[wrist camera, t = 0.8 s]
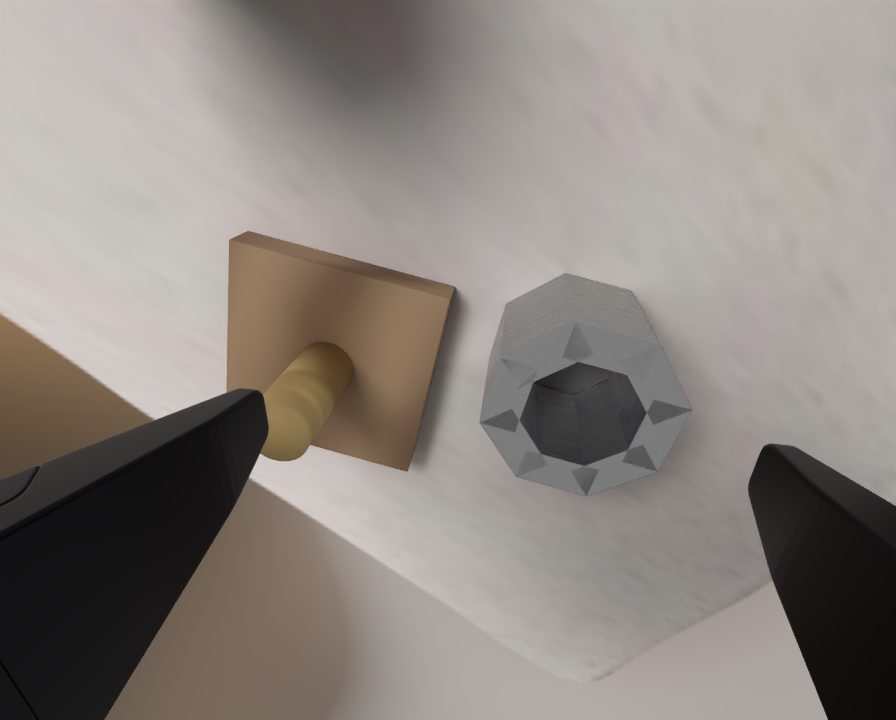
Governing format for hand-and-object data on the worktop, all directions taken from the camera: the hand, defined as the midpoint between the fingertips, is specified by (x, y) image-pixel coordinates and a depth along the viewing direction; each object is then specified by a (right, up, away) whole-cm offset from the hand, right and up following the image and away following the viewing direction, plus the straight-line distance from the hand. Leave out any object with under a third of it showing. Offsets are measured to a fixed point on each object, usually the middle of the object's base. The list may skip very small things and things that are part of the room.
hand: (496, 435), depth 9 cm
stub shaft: (-6, +2, +14) cm, 15 cm away
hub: (+4, +2, +12) cm, 13 cm away
